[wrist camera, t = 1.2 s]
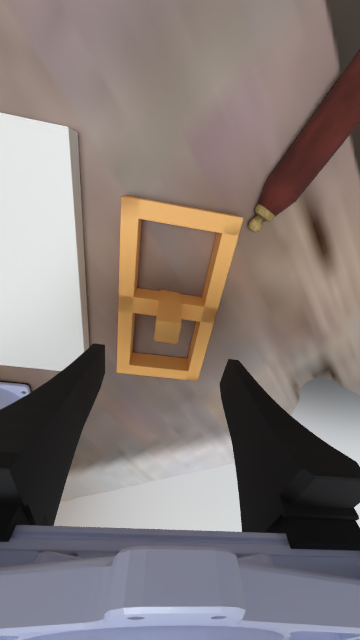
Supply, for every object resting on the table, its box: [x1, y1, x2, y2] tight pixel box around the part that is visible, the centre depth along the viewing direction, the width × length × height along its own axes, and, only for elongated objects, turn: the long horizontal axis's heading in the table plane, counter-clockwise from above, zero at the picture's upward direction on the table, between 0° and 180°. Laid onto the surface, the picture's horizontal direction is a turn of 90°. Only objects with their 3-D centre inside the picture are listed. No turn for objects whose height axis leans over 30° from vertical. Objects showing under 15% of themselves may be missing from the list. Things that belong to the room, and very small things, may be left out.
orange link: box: [117, 195, 243, 381], centre depth 18 cm, size 16×8×6 cm, turn 171°
